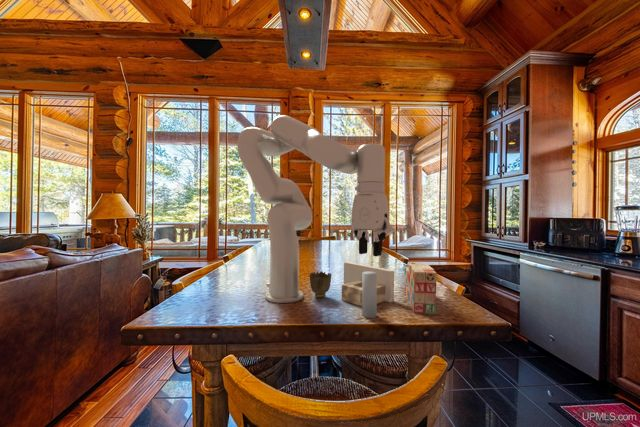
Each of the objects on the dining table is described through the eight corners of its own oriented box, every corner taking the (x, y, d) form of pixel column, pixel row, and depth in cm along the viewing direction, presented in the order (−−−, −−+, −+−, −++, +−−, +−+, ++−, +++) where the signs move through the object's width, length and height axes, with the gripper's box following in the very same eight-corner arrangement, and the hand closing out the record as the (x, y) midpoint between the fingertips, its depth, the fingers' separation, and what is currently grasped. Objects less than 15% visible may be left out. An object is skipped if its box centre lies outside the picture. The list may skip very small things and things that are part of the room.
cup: (335, 297, 97) (336, 273, 97) (320, 302, 92) (321, 277, 92) (319, 292, 102) (319, 270, 102) (304, 297, 97) (304, 273, 97)
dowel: (359, 315, 81) (359, 273, 81) (367, 311, 84) (367, 270, 84) (371, 319, 78) (371, 275, 78) (379, 315, 81) (379, 273, 81)
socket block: (341, 299, 94) (341, 284, 94) (360, 293, 101) (360, 279, 101) (366, 307, 87) (366, 291, 87) (385, 300, 94) (385, 285, 94)
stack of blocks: (404, 291, 105) (404, 258, 104) (422, 292, 104) (422, 258, 103) (413, 313, 84) (414, 271, 83) (436, 314, 83) (437, 272, 82)
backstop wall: (343, 289, 107) (343, 262, 107) (347, 288, 108) (347, 261, 108) (390, 302, 92) (390, 271, 92) (393, 301, 94) (394, 270, 94)
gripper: (339, 190, 84) (338, 252, 84) (389, 187, 72) (388, 260, 72) (355, 191, 89) (355, 250, 90) (404, 189, 77) (403, 257, 77)
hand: (370, 254), depth 81 cm, fingers open, 4 cm apart
